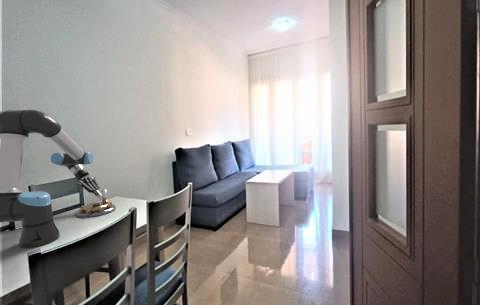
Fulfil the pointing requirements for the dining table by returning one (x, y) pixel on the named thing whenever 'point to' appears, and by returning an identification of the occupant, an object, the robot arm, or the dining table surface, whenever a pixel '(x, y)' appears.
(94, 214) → the grey plate
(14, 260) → the dining table surface
